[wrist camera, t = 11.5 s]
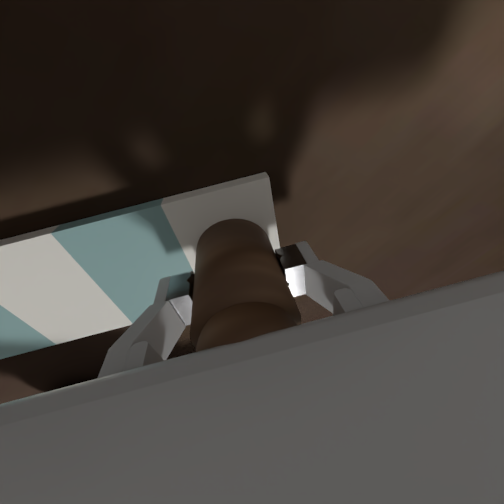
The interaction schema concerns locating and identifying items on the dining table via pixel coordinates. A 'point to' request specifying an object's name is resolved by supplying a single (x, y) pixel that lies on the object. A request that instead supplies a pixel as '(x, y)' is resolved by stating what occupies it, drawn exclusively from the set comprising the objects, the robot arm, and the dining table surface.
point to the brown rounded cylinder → (238, 287)
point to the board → (112, 262)
